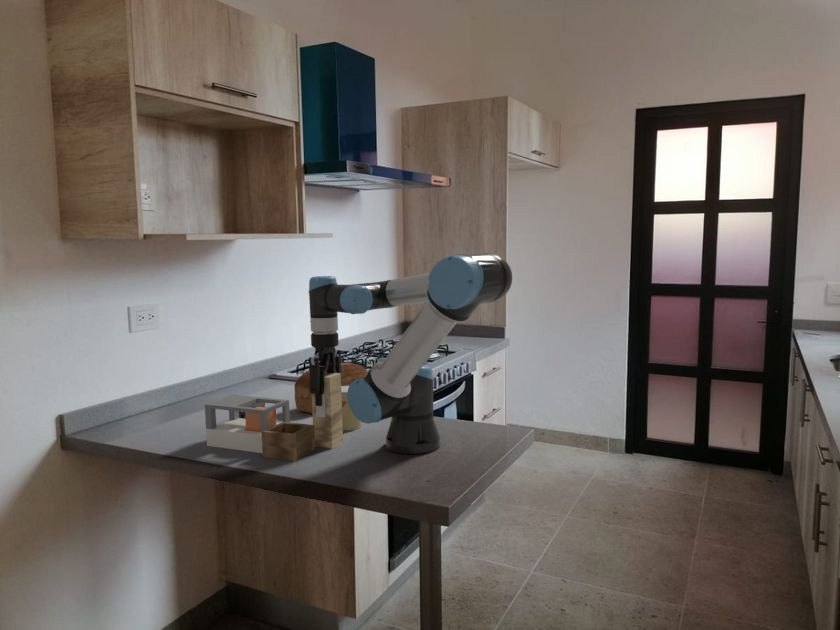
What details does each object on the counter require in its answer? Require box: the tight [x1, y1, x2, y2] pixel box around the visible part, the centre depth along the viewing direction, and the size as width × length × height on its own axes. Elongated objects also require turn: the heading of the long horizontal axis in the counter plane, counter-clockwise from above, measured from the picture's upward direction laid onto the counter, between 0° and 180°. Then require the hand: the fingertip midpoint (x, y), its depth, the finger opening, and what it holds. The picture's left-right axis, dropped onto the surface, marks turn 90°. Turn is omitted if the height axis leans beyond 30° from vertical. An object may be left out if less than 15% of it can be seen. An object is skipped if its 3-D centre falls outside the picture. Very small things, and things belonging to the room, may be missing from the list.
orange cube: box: [245, 406, 277, 432], centre depth 187 cm, size 6×6×6 cm
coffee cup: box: [341, 386, 363, 432], centre depth 203 cm, size 9×9×12 cm
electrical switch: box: [239, 402, 266, 419], centre depth 204 cm, size 9×5×9 cm, turn 113°
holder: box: [262, 421, 316, 462], centre depth 179 cm, size 10×10×7 cm
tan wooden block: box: [311, 372, 344, 449], centre depth 186 cm, size 6×6×20 cm
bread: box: [294, 362, 368, 414], centre depth 229 cm, size 12×28×14 cm, turn 140°
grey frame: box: [204, 394, 291, 454], centre depth 188 cm, size 20×12×12 cm, turn 67°
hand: (327, 413), depth 186 cm, fingers closed on tan wooden block, 6 cm apart
